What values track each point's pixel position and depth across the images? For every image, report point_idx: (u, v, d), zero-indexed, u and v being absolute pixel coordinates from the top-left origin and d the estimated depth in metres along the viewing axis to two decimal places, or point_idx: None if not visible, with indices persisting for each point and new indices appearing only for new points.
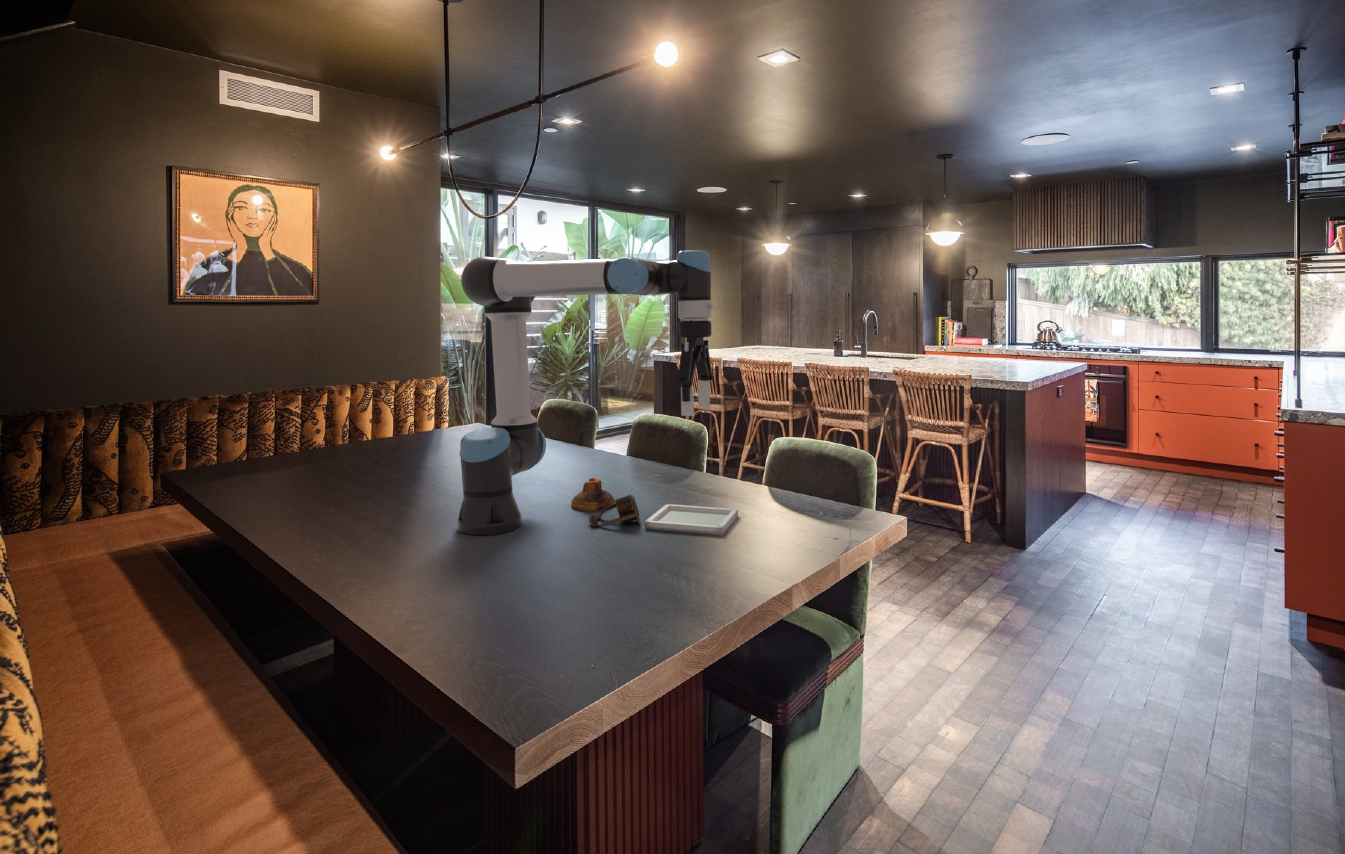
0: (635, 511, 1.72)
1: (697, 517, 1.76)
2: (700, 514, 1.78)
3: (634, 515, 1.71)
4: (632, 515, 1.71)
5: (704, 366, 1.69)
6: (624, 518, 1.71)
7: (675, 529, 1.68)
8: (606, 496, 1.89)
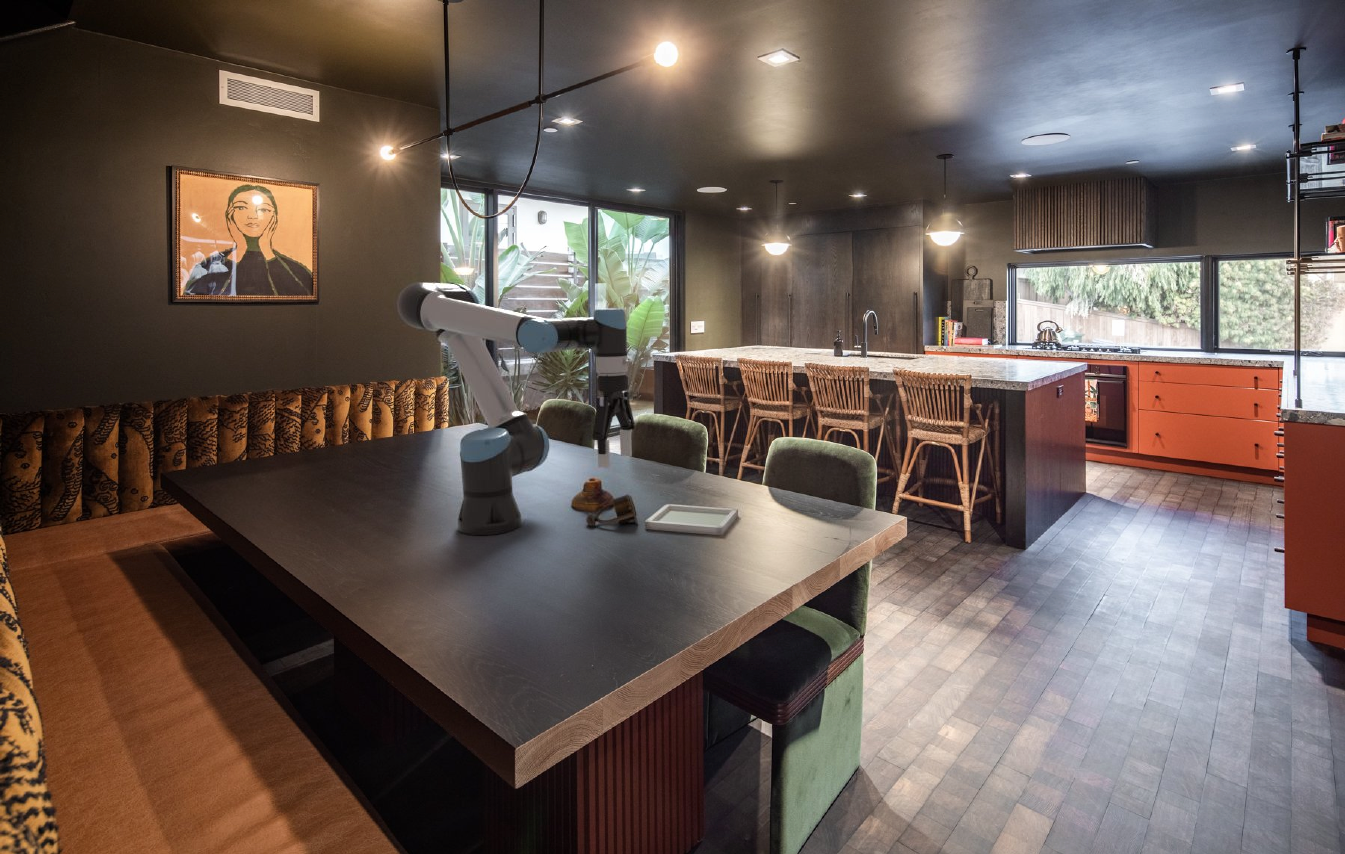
0: (632, 511, 1.72)
1: (697, 517, 1.76)
2: (700, 514, 1.78)
3: (632, 515, 1.72)
4: (630, 515, 1.71)
5: (623, 417, 1.75)
6: (622, 518, 1.71)
7: (675, 529, 1.68)
8: (606, 495, 1.89)
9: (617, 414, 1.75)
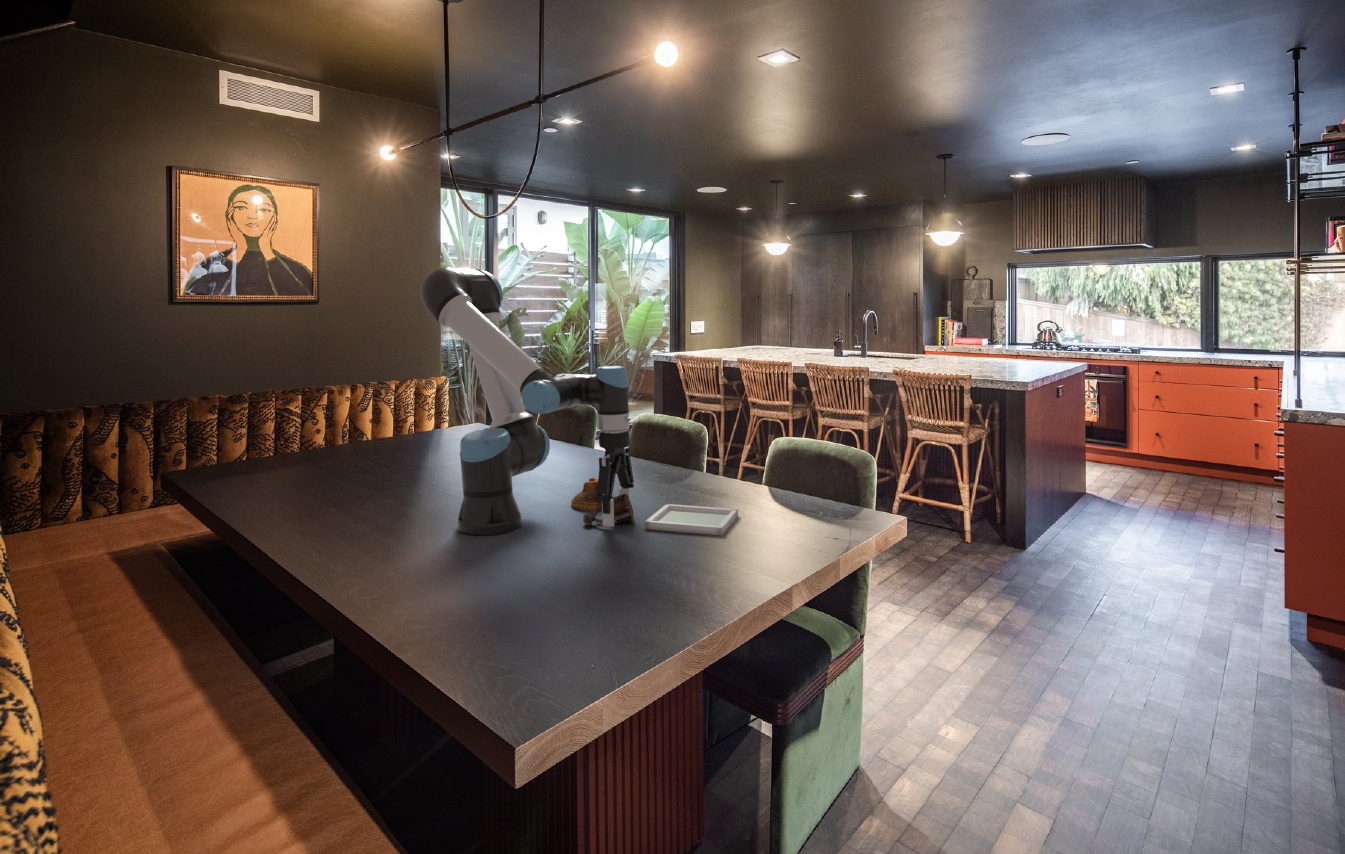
0: (630, 510, 1.72)
1: (697, 517, 1.76)
2: (700, 514, 1.78)
3: (629, 514, 1.72)
4: (627, 514, 1.72)
5: (624, 473, 1.77)
6: (619, 517, 1.71)
7: (675, 529, 1.68)
8: None
9: (617, 470, 1.77)
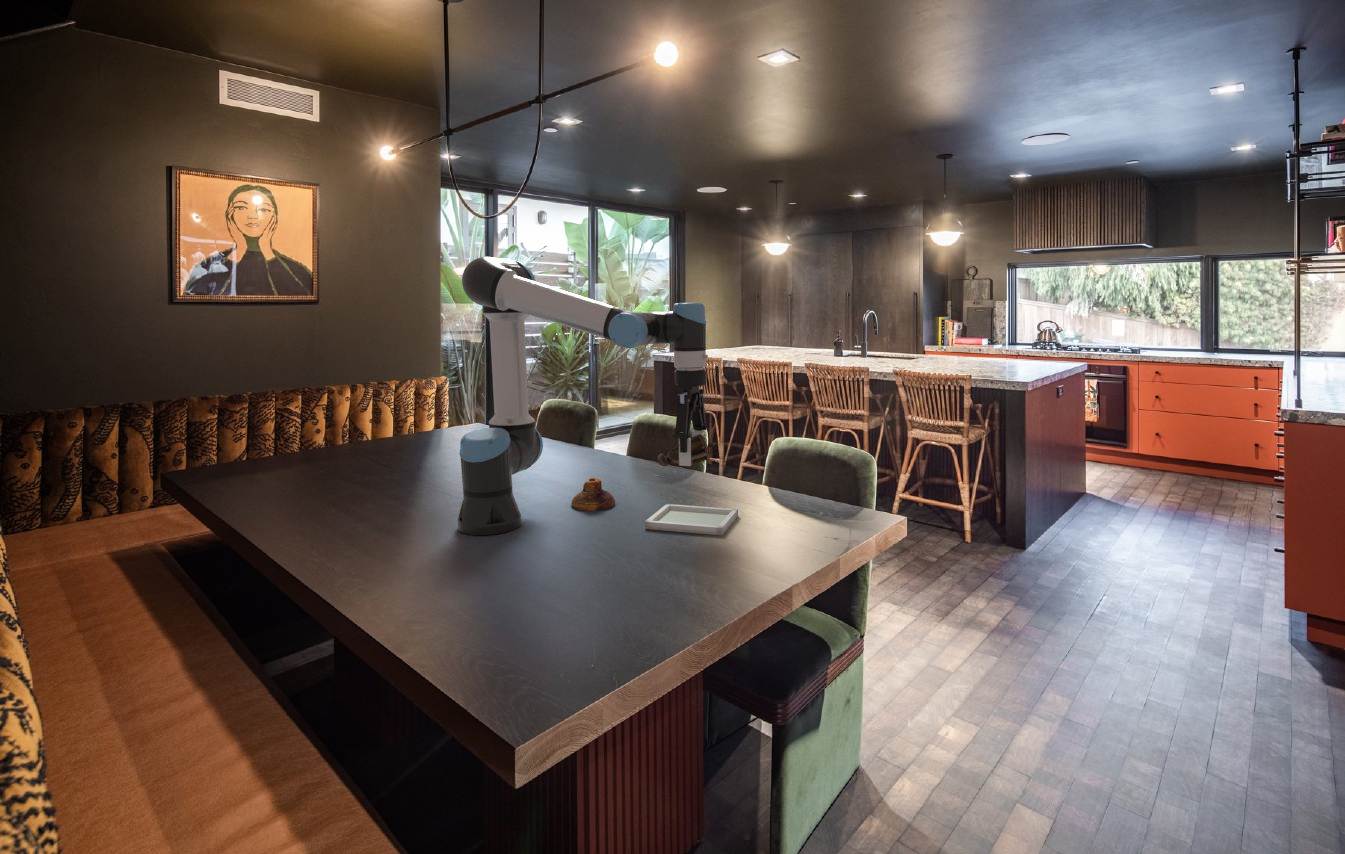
0: (706, 450, 1.69)
1: (697, 517, 1.76)
2: (700, 514, 1.78)
3: (705, 454, 1.68)
4: (703, 454, 1.68)
5: (698, 414, 1.73)
6: (695, 457, 1.68)
7: (675, 529, 1.68)
8: (606, 495, 1.89)
9: None
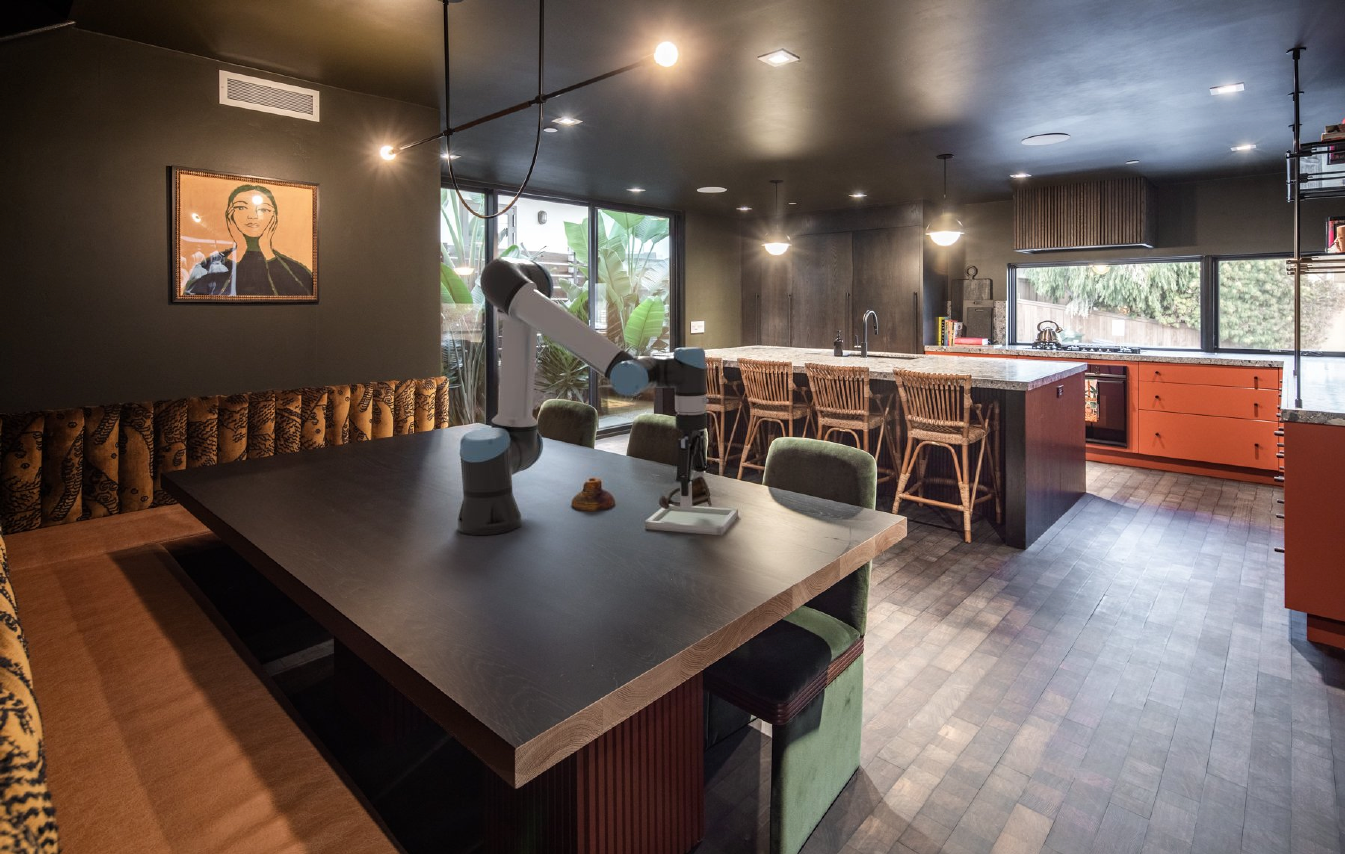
0: (707, 493, 1.70)
1: (697, 517, 1.76)
2: (700, 514, 1.78)
3: (706, 497, 1.70)
4: (704, 497, 1.70)
5: (699, 456, 1.75)
6: (696, 500, 1.70)
7: (675, 529, 1.68)
8: (606, 495, 1.89)
9: None
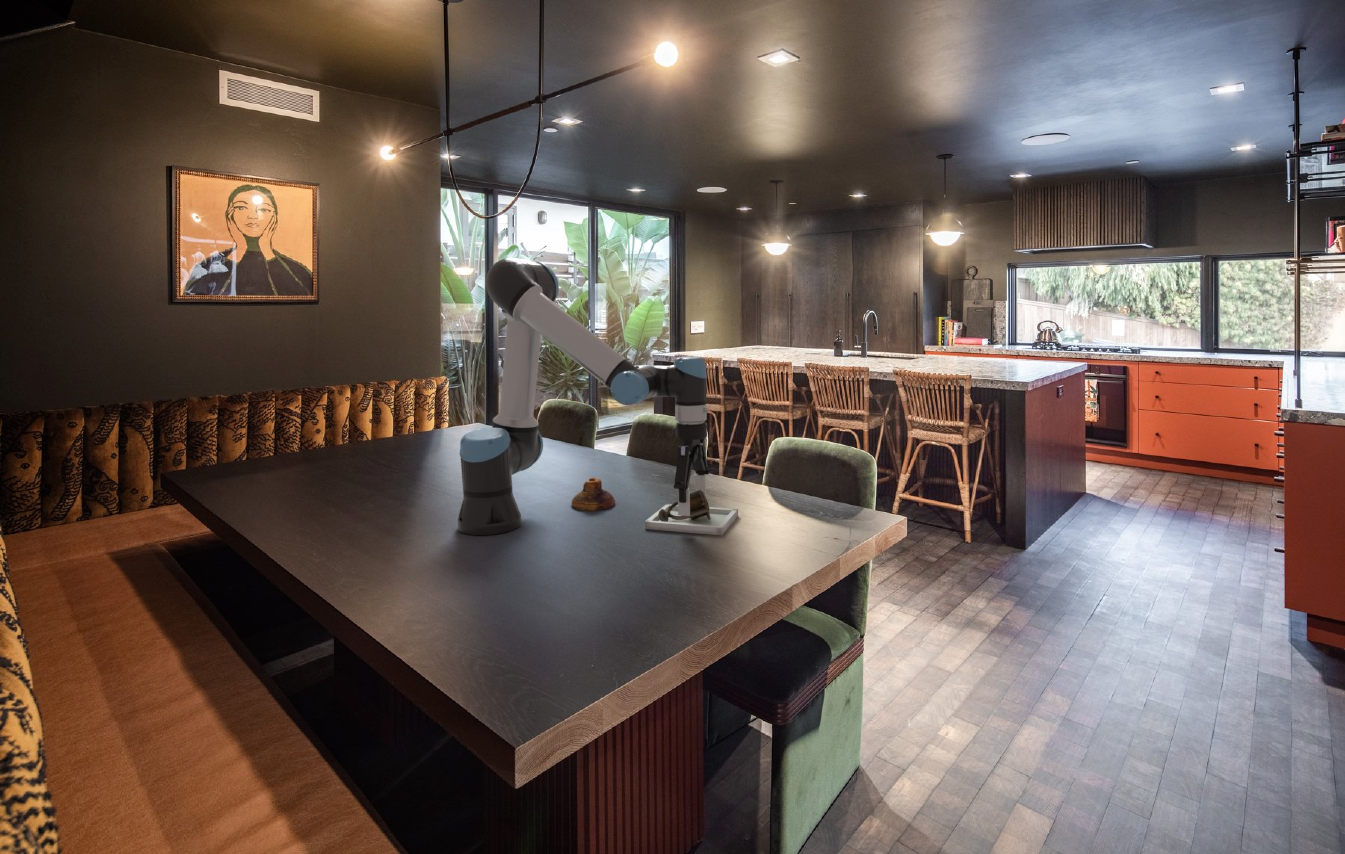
0: (706, 506, 1.71)
1: None
2: None
3: (705, 510, 1.71)
4: (703, 511, 1.70)
5: (700, 463, 1.76)
6: (695, 514, 1.70)
7: (675, 529, 1.68)
8: (606, 495, 1.90)
9: None
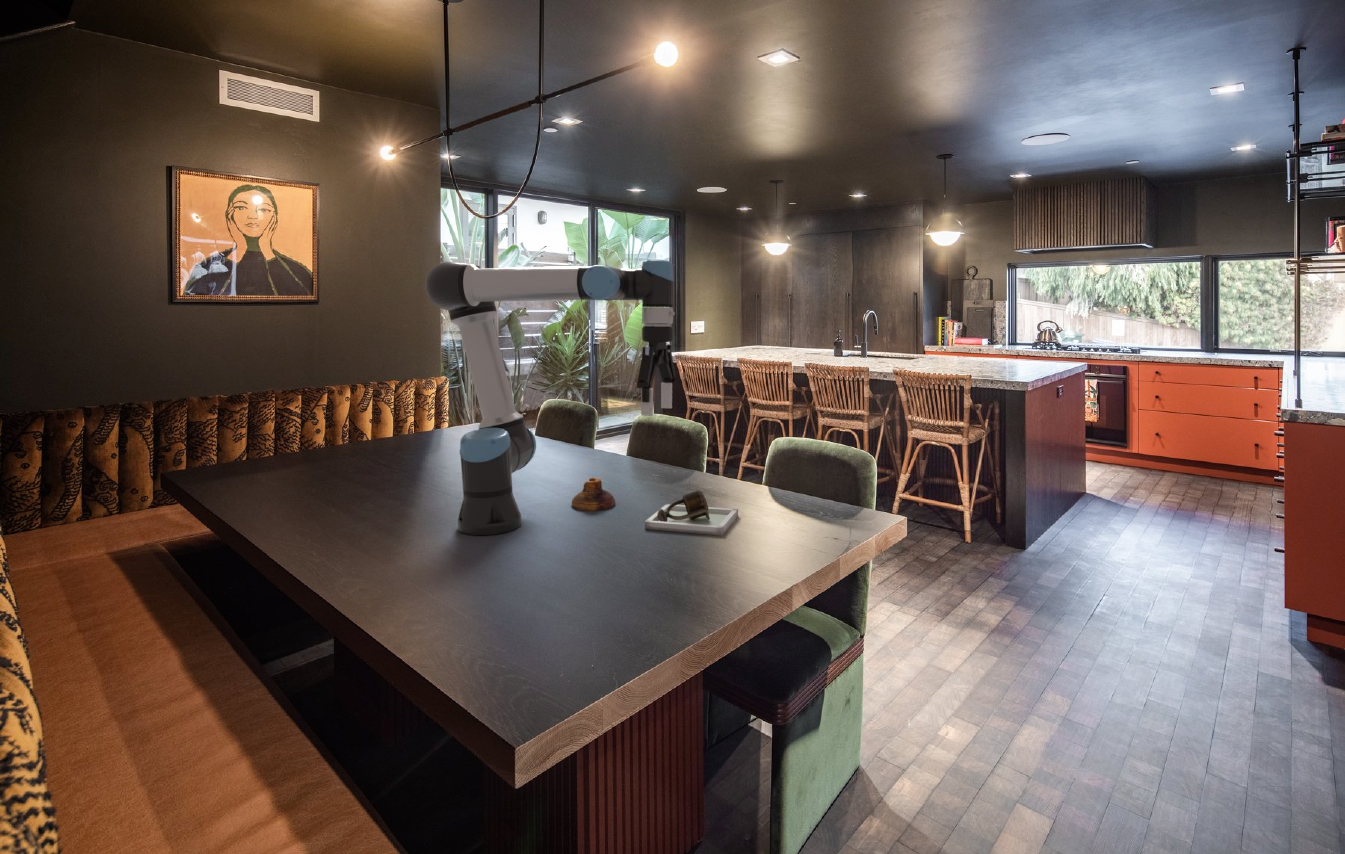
0: (705, 506, 1.71)
1: None
2: None
3: (704, 510, 1.71)
4: (702, 510, 1.70)
5: (666, 369, 1.79)
6: (694, 514, 1.70)
7: (675, 529, 1.68)
8: (606, 495, 1.90)
9: (660, 366, 1.79)
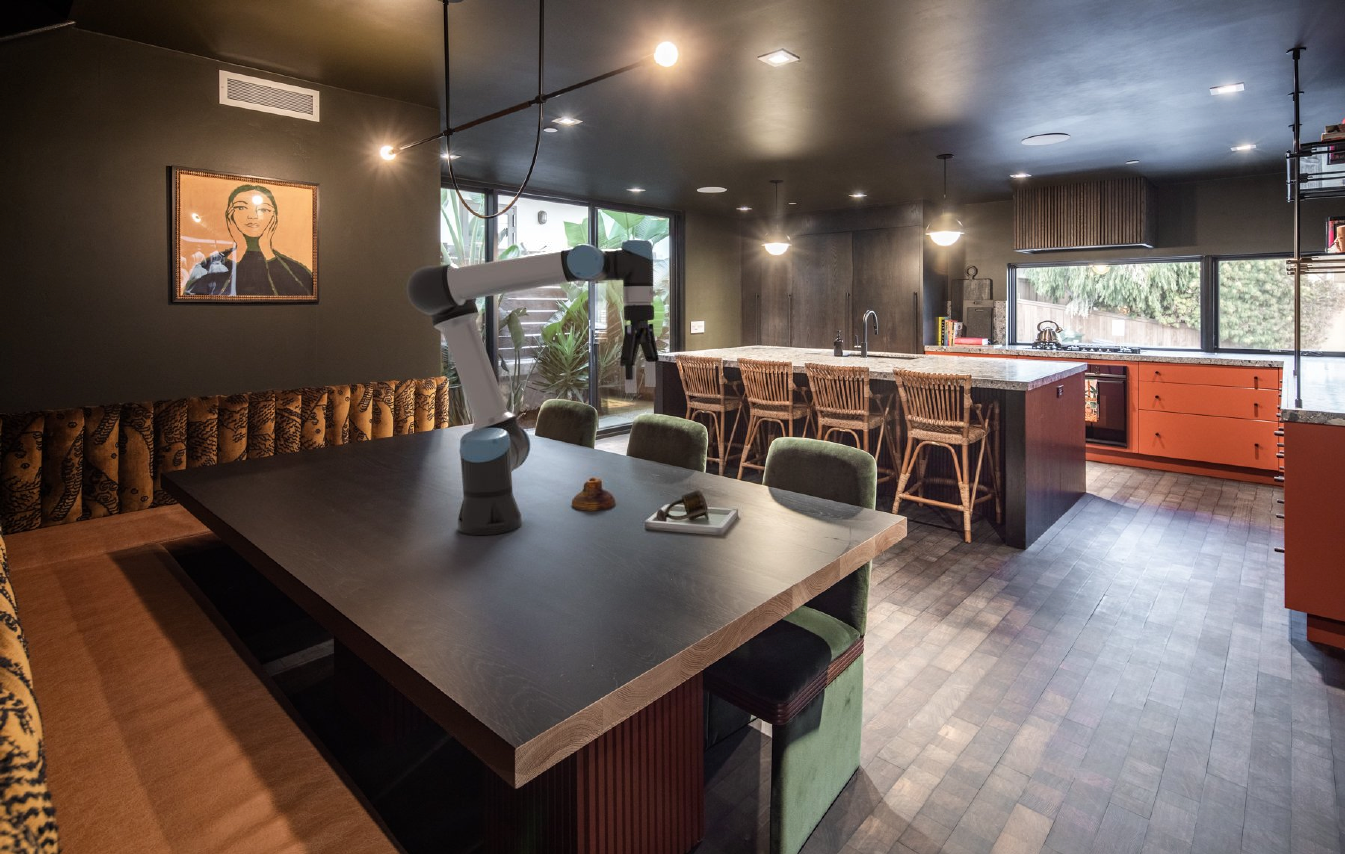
0: (704, 506, 1.71)
1: None
2: None
3: (704, 510, 1.71)
4: (702, 510, 1.70)
5: (648, 348, 1.82)
6: (694, 514, 1.70)
7: (675, 529, 1.68)
8: (606, 495, 1.90)
9: (642, 345, 1.82)
